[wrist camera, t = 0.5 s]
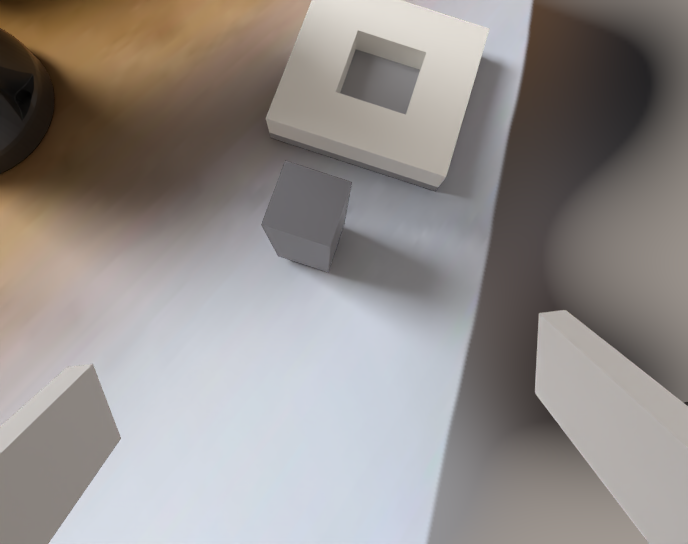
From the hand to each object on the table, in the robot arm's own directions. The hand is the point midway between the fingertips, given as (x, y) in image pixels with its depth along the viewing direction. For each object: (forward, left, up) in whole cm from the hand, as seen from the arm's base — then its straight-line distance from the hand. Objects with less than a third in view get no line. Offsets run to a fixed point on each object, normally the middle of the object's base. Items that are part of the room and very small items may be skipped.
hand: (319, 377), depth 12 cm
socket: (-16, +21, -25) cm, 36 cm away
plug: (-8, +6, -25) cm, 27 cm away
